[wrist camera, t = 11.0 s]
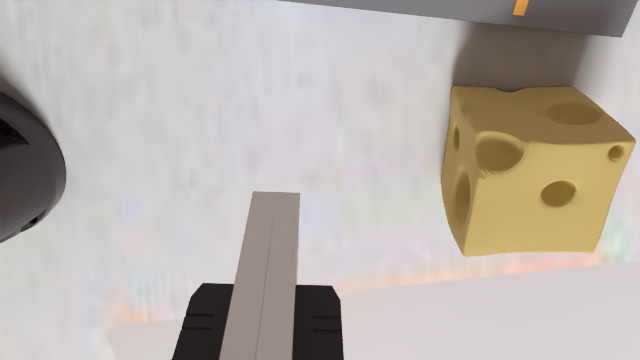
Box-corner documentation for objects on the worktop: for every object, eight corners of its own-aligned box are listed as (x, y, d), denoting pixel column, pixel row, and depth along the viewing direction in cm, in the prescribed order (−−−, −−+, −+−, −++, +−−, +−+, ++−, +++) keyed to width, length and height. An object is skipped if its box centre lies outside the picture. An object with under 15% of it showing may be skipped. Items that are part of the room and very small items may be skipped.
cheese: (448, 82, 38) (480, 138, 30) (581, 81, 38) (652, 137, 30) (434, 188, 44) (458, 260, 35) (550, 187, 44) (602, 260, 35)
